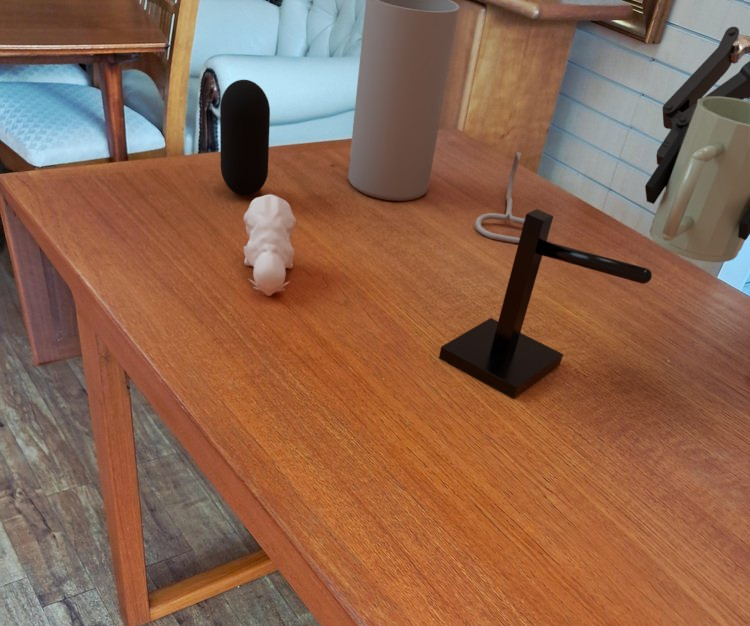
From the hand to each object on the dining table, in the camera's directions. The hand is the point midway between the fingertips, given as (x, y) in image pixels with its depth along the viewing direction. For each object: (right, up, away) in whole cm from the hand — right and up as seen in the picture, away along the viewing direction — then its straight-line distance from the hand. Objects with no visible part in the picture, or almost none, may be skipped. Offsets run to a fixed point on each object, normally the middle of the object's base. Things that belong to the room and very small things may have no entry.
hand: (694, 212), depth 73 cm
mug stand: (-13, -13, +14) cm, 23 cm away
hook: (-10, +16, +47) cm, 51 cm away
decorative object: (-48, +17, +41) cm, 66 cm away
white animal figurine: (-43, 0, +23) cm, 49 cm away
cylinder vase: (-28, +22, +50) cm, 61 cm away
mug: (0, -2, +3) cm, 4 cm away
